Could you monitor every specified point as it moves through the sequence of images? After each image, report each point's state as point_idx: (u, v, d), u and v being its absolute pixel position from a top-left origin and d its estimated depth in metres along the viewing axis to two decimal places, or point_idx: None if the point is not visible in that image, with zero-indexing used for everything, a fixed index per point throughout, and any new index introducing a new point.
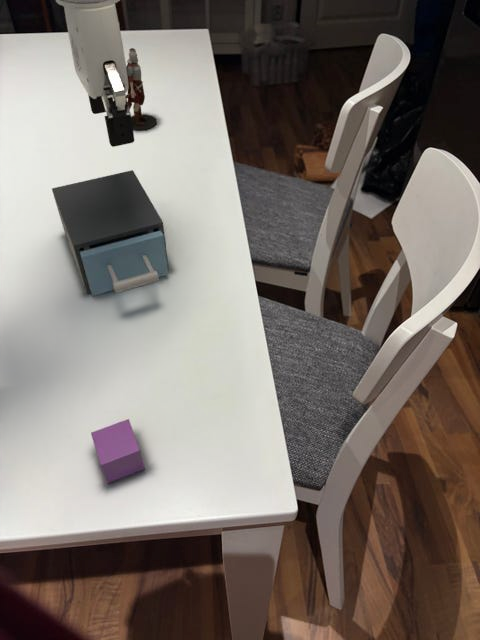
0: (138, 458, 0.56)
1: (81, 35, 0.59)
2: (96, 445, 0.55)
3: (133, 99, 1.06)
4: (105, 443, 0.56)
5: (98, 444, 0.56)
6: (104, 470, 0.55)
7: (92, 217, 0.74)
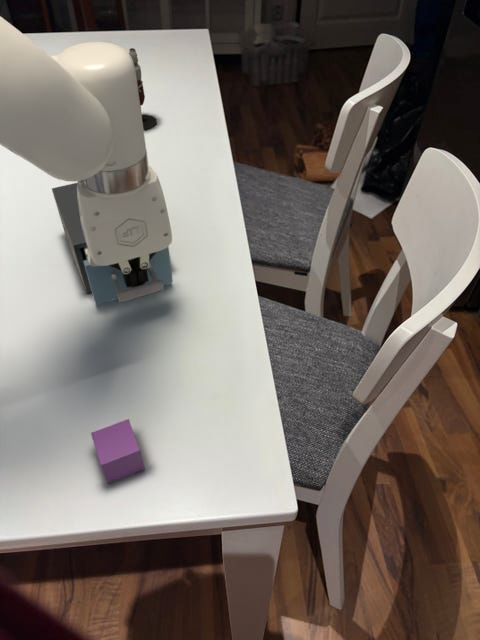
0: (138, 458, 0.56)
1: (161, 198, 0.61)
2: (96, 445, 0.55)
3: None
4: (105, 443, 0.56)
5: (98, 444, 0.56)
6: (104, 470, 0.55)
7: None
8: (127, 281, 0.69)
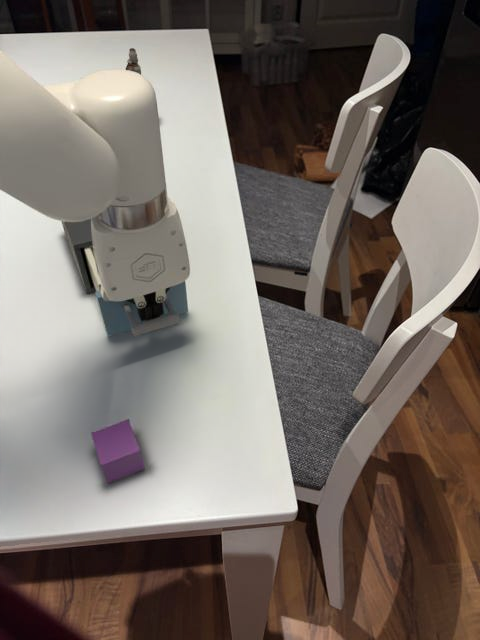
0: (138, 458, 0.56)
1: (180, 232, 0.57)
2: (96, 445, 0.55)
3: None
4: (105, 443, 0.56)
5: (98, 444, 0.56)
6: (104, 470, 0.55)
7: None
8: (141, 315, 0.66)
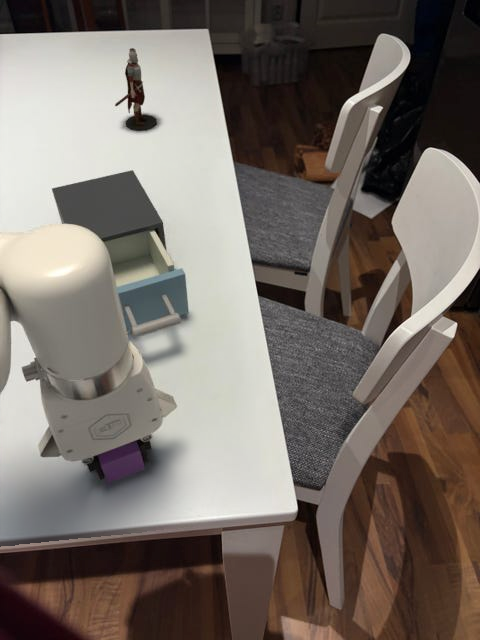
0: (138, 458, 0.56)
1: (148, 387, 0.48)
2: None
3: (133, 99, 1.06)
4: None
5: None
6: (104, 470, 0.55)
7: (92, 217, 0.74)
8: (89, 467, 0.56)
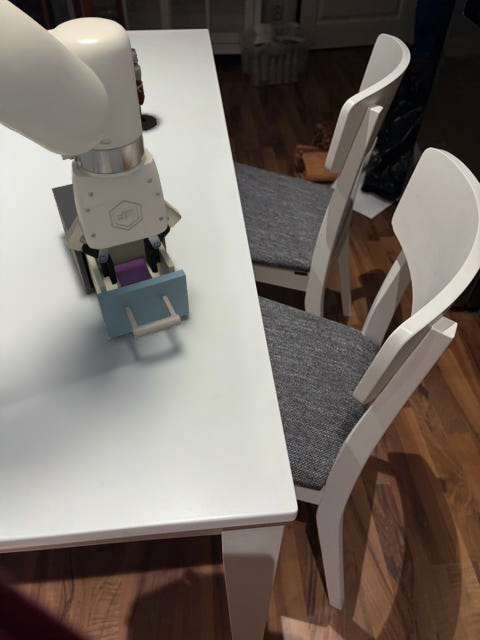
0: None
1: (157, 181, 0.60)
2: (118, 274, 0.70)
3: None
4: (124, 272, 0.71)
5: (119, 273, 0.71)
6: None
7: None
8: (104, 270, 0.68)
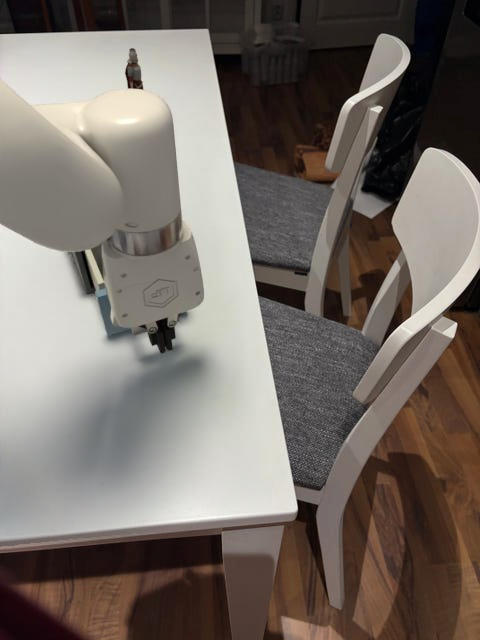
0: None
1: (195, 256, 0.54)
2: None
3: None
4: None
5: None
6: None
7: None
8: (152, 339, 0.63)
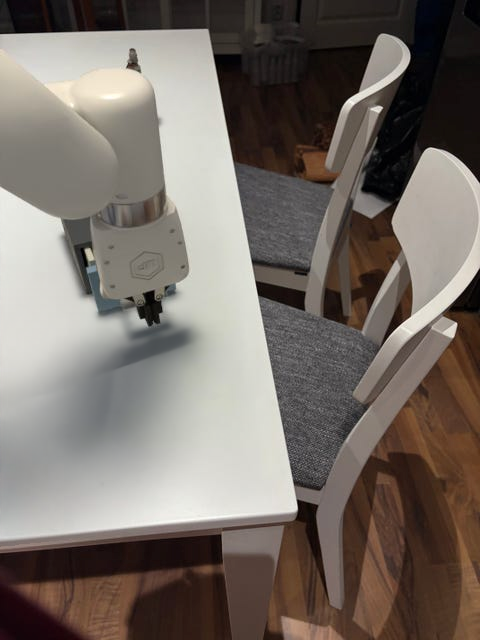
0: None
1: (179, 230, 0.57)
2: None
3: None
4: None
5: None
6: None
7: None
8: (140, 313, 0.66)
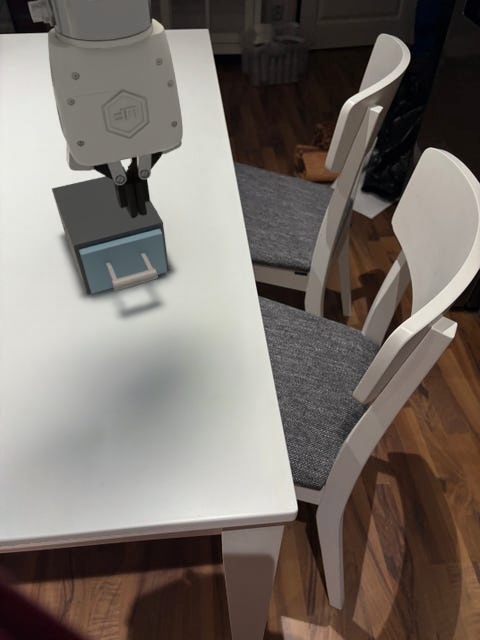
0: None
1: (169, 63, 0.43)
2: None
3: None
4: None
5: None
6: None
7: (92, 217, 0.74)
8: (121, 198, 0.51)
